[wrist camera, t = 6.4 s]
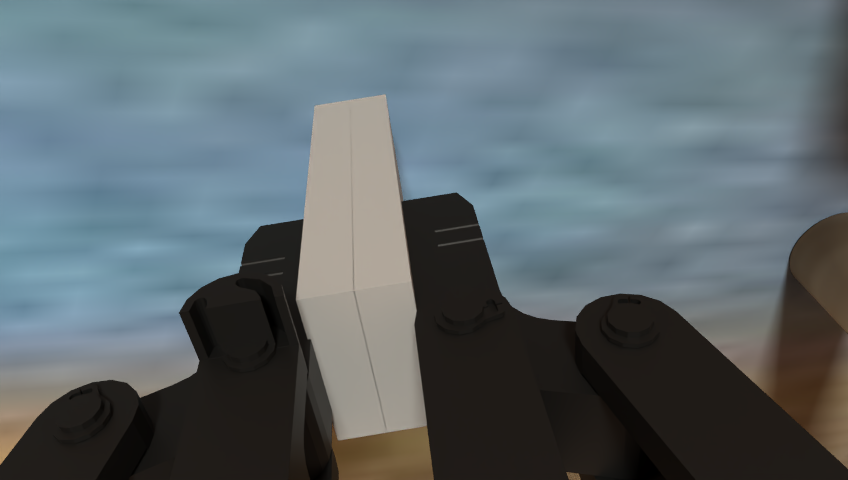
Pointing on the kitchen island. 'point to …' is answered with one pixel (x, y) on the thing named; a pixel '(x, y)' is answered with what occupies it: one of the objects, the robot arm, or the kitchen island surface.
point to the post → (825, 265)
